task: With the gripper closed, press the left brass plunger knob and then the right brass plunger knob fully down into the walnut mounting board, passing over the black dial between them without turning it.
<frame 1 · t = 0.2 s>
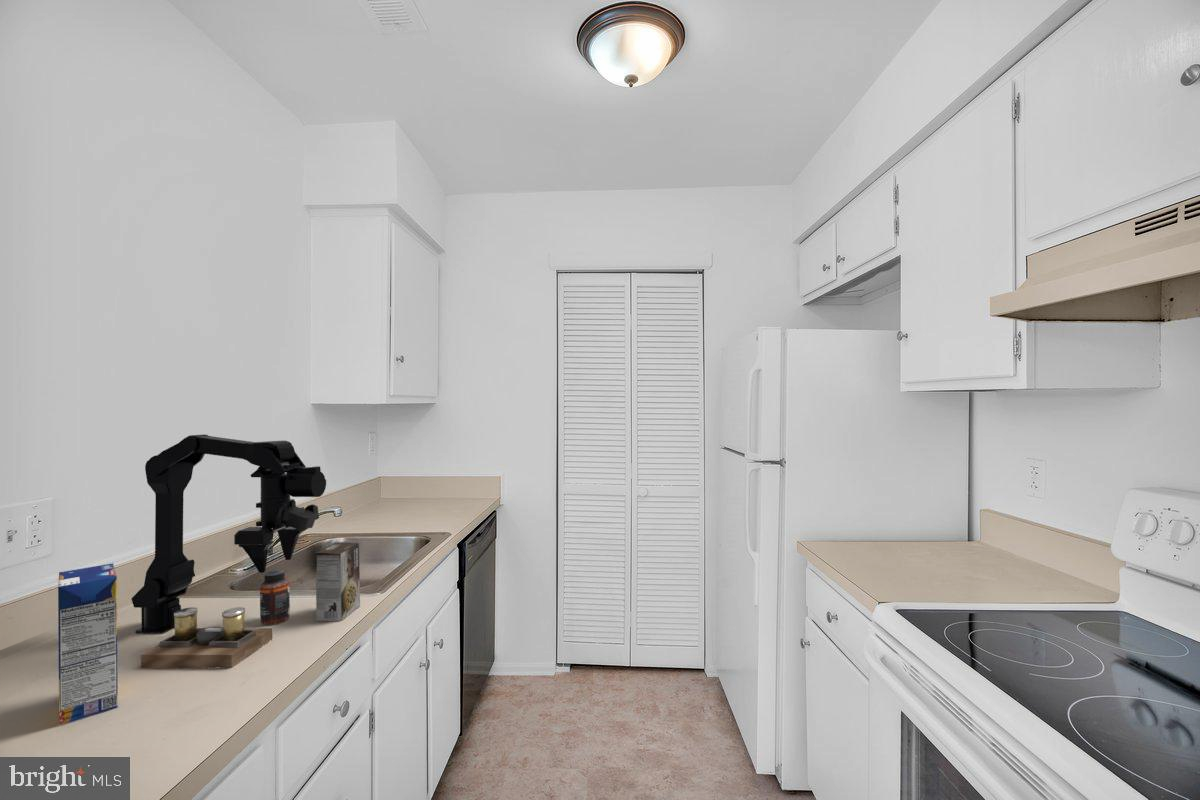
hand: (275, 565, 118), 14 cm above the counter, tool pointing down, fingers open, 9 cm apart
supplement bottle: (275, 621, 123), on the counter
beverage box: (88, 704, 89), on the counter
knob right: (233, 624, 107), point 6 cm above the counter, slide at 0.0 cm
knob left: (186, 624, 107), point 6 cm above the counter, slide at 0.0 cm
coffee box: (338, 614, 126), on the counter
dial: (210, 634, 107), point 4 cm above the counter, hinge at 0.0°, touching mount
mount: (210, 652, 107), on the counter
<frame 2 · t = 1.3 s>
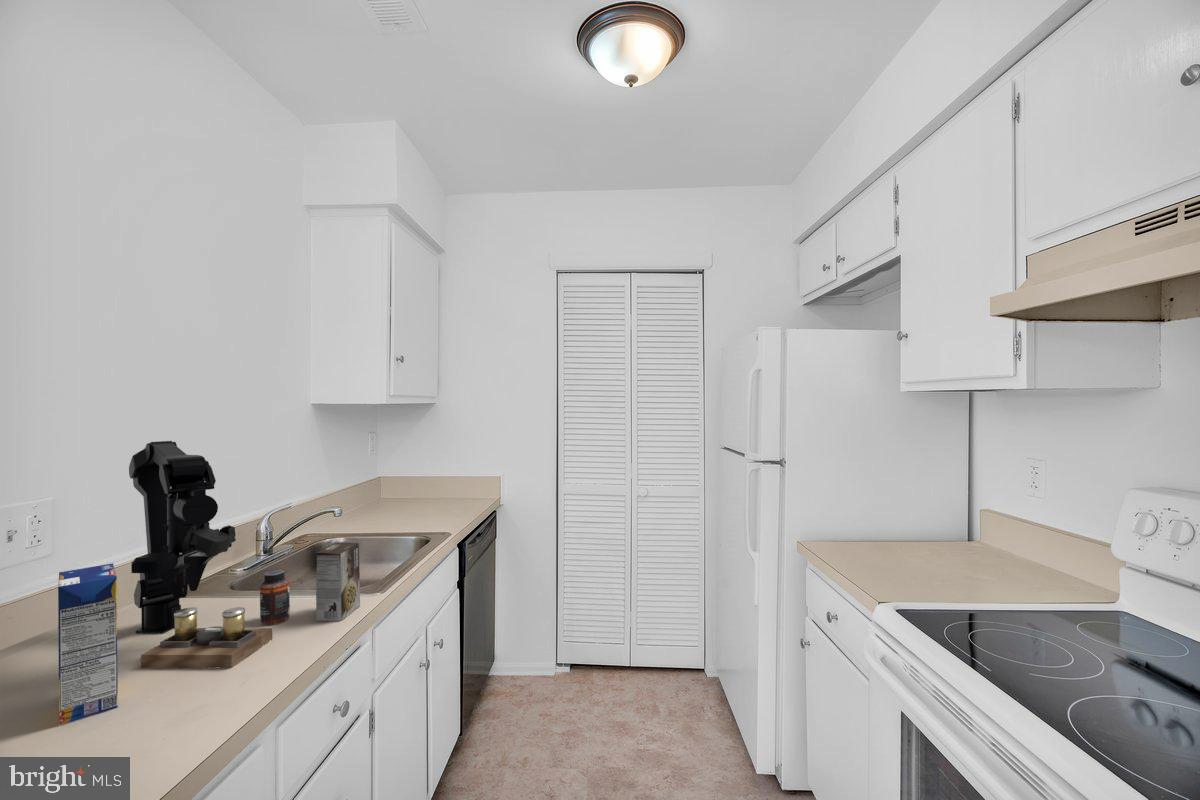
hand: (185, 594, 107), 12 cm above the counter, tool pointing down, fingers open, 4 cm apart
nothing on the counter moved.
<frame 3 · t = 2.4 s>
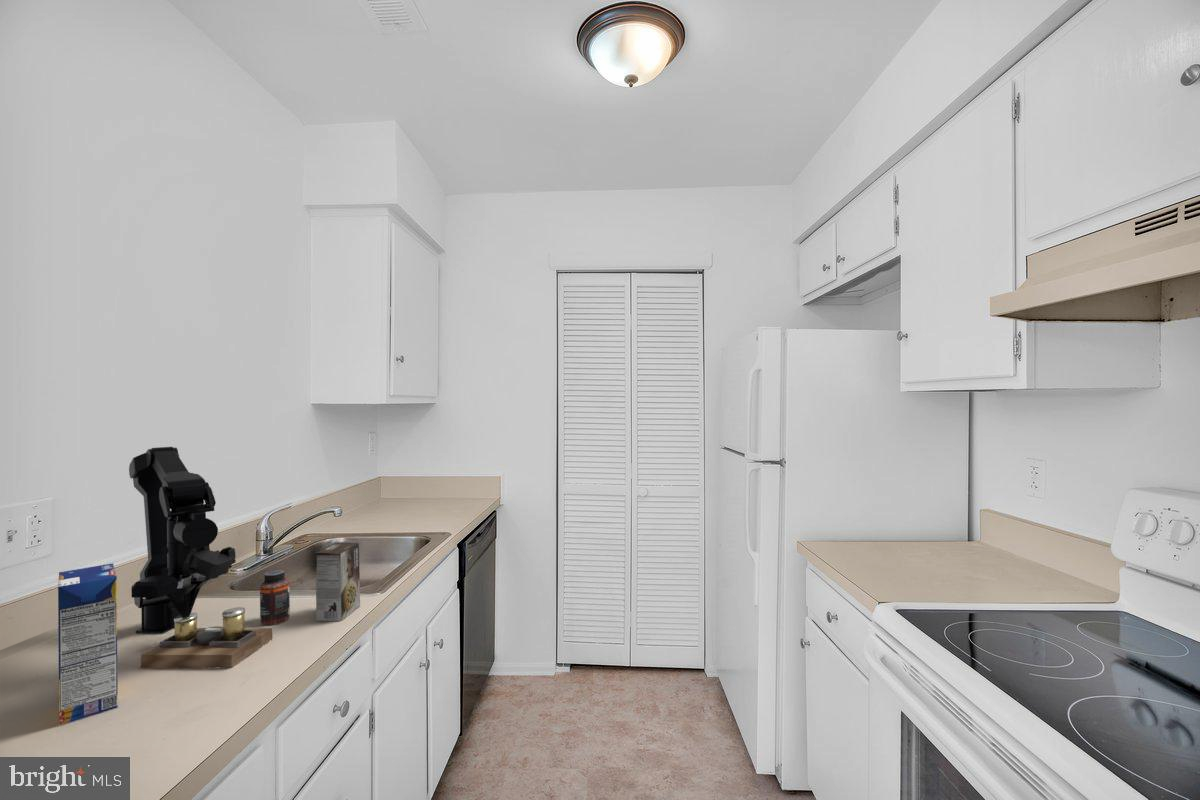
hand: (185, 616, 107), 7 cm above the counter, tool pointing down, fingers closed, pressing on knob left
knob left: (186, 630, 107), point 5 cm above the counter, slide at 1.1 cm, touching gripper
everything else where it was.
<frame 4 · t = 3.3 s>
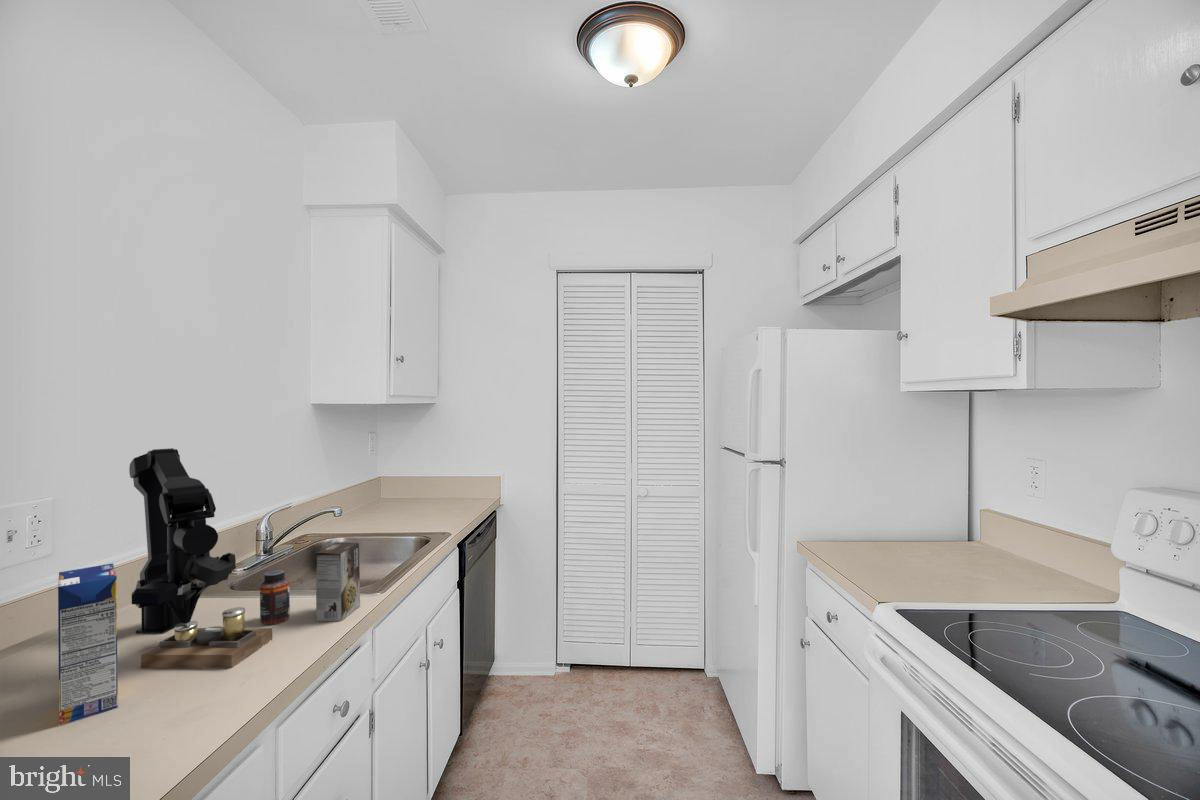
hand: (186, 622, 107), 6 cm above the counter, tool pointing down, fingers closed
knob left: (186, 638, 107), point 3 cm above the counter, slide at 2.9 cm
everything else where it was.
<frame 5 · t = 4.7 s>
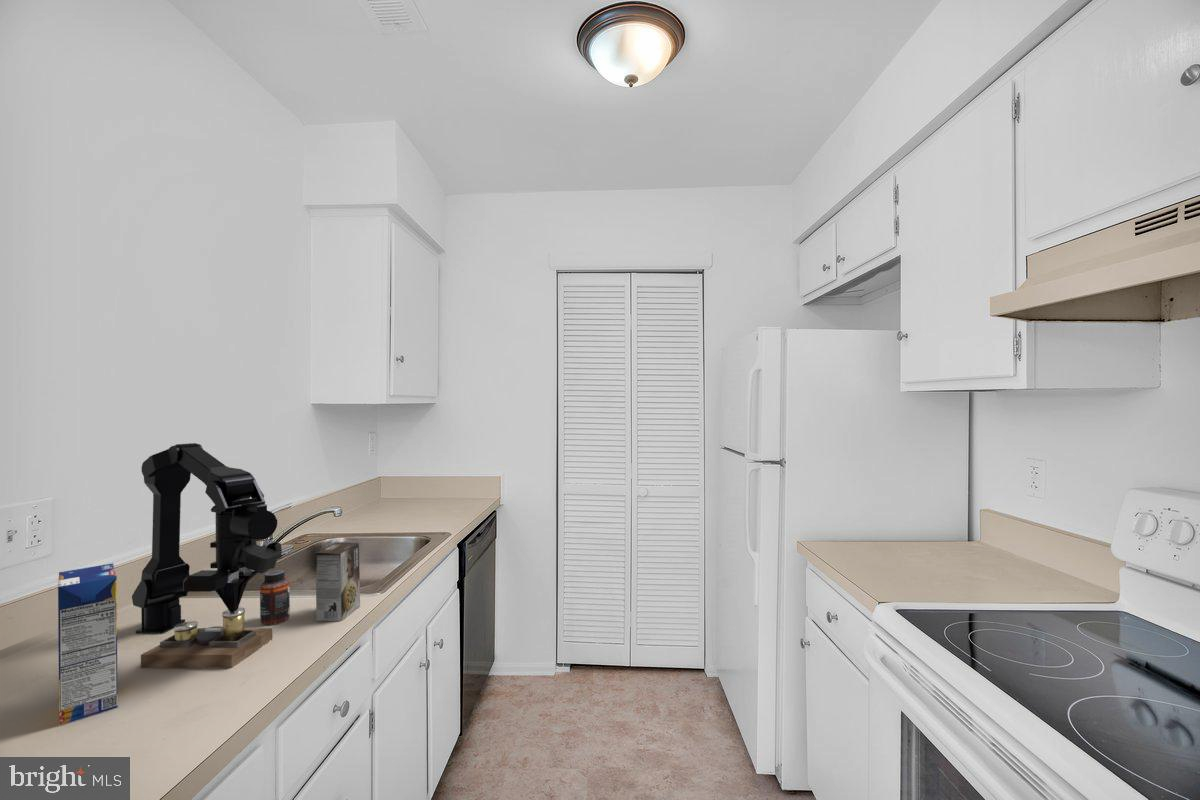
hand: (233, 611, 107), 9 cm above the counter, tool pointing down, fingers closed, pressing on knob right
knob right: (233, 624, 107), point 6 cm above the counter, slide at 0.1 cm, touching gripper
everything else where it was.
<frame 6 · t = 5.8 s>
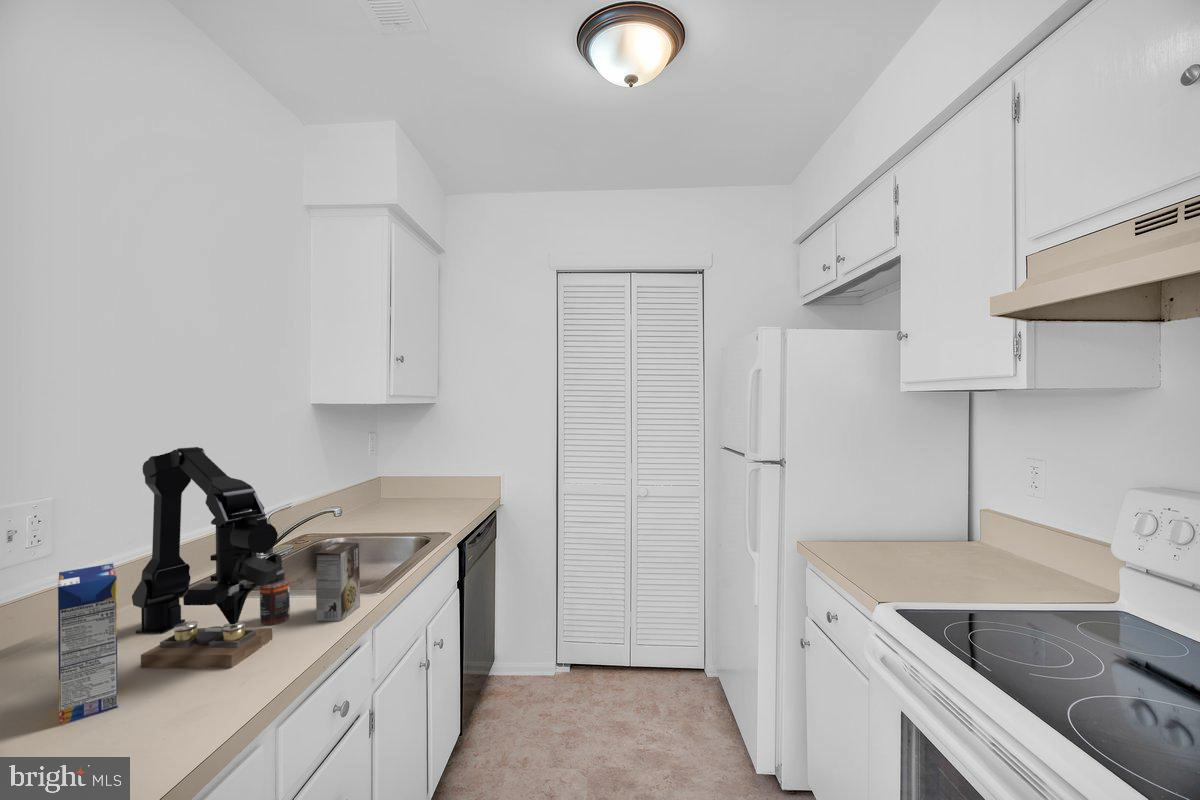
hand: (233, 623, 107), 6 cm above the counter, tool pointing down, fingers closed
knob right: (233, 638, 107), point 3 cm above the counter, slide at 2.9 cm
everything else where it was.
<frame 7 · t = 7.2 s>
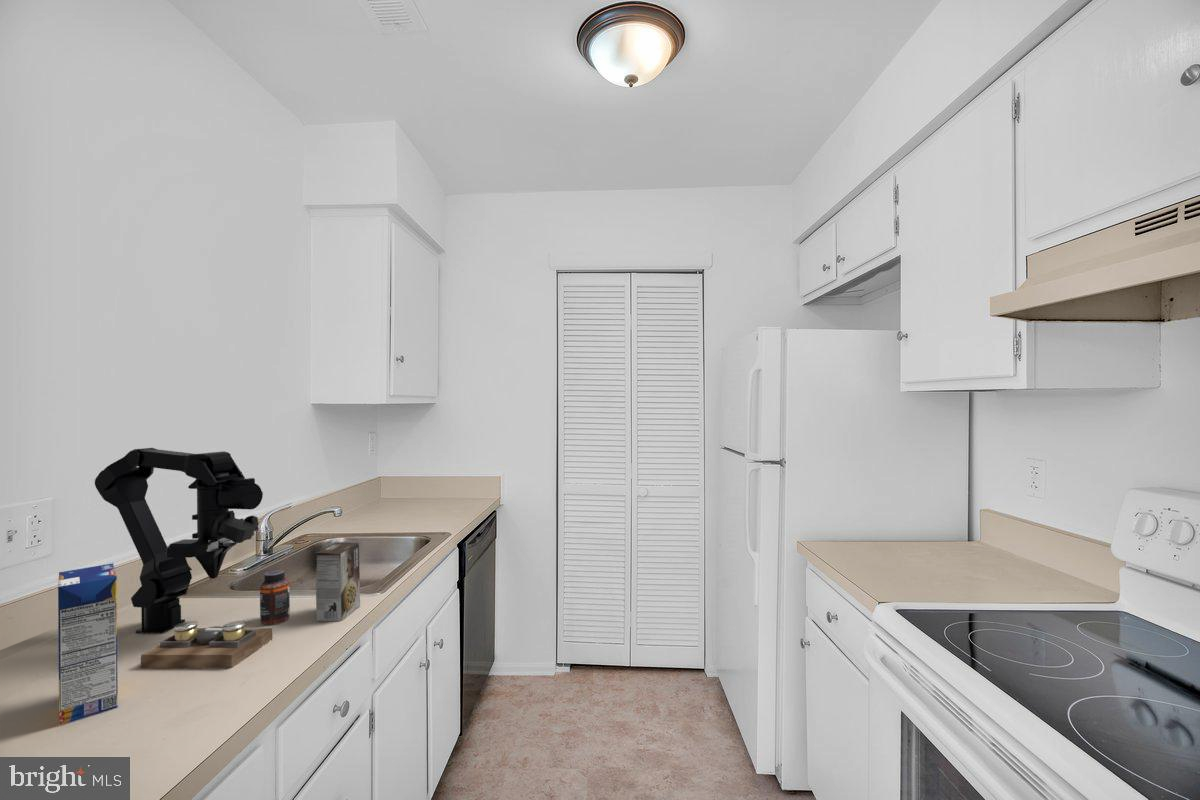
hand: (213, 578, 117), 12 cm above the counter, tool pointing down, fingers closed
nothing on the counter moved.
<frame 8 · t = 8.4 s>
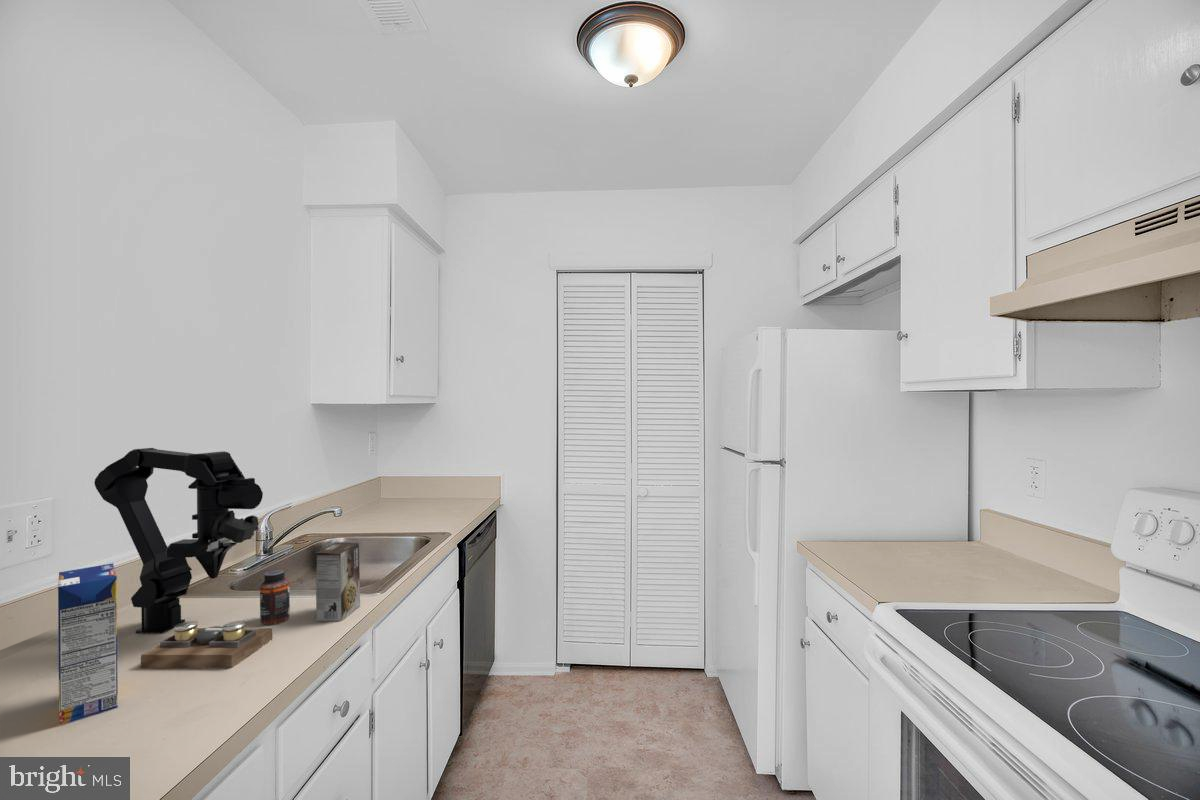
hand: (213, 577, 117), 12 cm above the counter, tool pointing down, fingers closed
nothing on the counter moved.
at the end: knob left slide at 2.9 cm; knob right slide at 2.9 cm; dial at +0° (first picture: +0°) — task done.
